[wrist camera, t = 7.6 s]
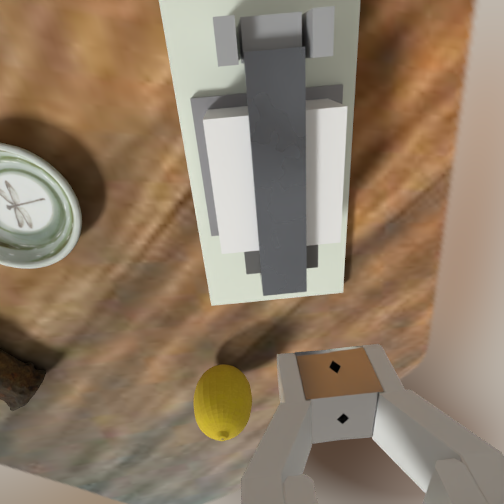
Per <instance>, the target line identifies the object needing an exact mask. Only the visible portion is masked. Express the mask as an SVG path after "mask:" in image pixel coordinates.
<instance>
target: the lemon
mask: <svg viewBox="0 0 504 504" xmlns="http://www.w3.org/2000/svg"><path fill="white" fill-rule="evenodd" d="M251 406H252V395H251V389H250V385H249V382H248V380H247V379H246V377H245V375H244V374H243V373H242V372H241V371H240V370H239V369H237V368H235V367H234V366H231V365H225V364H223V365H217V366H214V367H212V368H210V369H209V370H207V371H206V372H205V373H204V374H203V375H202V377H201V378H200V380H199V381H198V383H197V386H196V390H195V394H194V412H195V418H196V421H197V424H198V426H199V428H200V429H201V431H202V432H203V433H204V434H205V435H207V436H208V437H210V438H212V439H215V440H220V441H225V440H229V439H231V438H234V437H235V436H237V435H238V434H239V433H240V432H241V431H242V430H243V429H244V428H245V426H246V424H247V422H248V420H249V417H250V412H251Z"/></svg>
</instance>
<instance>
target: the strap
mask: <svg viewBox="0 0 504 504" xmlns="http://www.w3.org/2000/svg"><path fill="white" fill-rule="evenodd" d="M243 57H244V69H245V82H246V94H247V107H248V119H249V131H250V144H251V156H252V169H253V181H254V193H255V206H256V218H257V231H258V243H259V256H260V268H261V273H260V277H261V284H262V291H263V296H268V295H278V294H288V293H298V292H307V248H306V73H305V47H295V48H284V49H273V50H262V51H251V52H243Z"/></svg>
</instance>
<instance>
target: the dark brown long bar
mask: <svg viewBox="0 0 504 504" xmlns="http://www.w3.org/2000/svg"><path fill="white" fill-rule="evenodd" d="M45 374H46V370H36V369H35V368H34V365H33V363H32V362H30V363H23V362H21V361H20V360H18V359H16V358H14V357H12V356H11V355H9V354H7V353H5V352H4V351H2V350H0V399H1V400H3V401H5V402H6V403H7V404H8V406H9V407H10V410H12V411H14V410H16V409H18V408H20V407H22V406H24V405H26V404H27V403H28V402H29V400H30V399H31V398H32V396H33V395H34V394H35V393H36V391H37V390H38V388H39V387H40V385H41V383H42V382H43V380H44V377H45Z"/></svg>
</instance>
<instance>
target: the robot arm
mask: <svg viewBox="0 0 504 504" xmlns="http://www.w3.org/2000/svg"><path fill="white" fill-rule="evenodd" d="M277 369H278V384H279V395H280V404H279V406H278V408H277V410H276V412H275V414H274V415H273V417H272V419H271V421H270V423H269V425H268V427H267V429H266V431H265V433H264V435H263V437H262V439H261V441H260V443H259V445H258V447H257V449H256V451H255V453H254V455H253V457H252V459H251V461H250V463H249V465H248V466H247V468H246V470H245V472H244V474H243V476H242V478H241V504H318V501H317V496H316V491H315V487H314V482H313V479H311V478H310V477H308V476H307V475H306V474H304V475H302V473H303V470H304V467H305V464H306V461H307V458H308V455H309V452H310V449H311V446H312V444H313V443H320V442H327V441H335V440H343V439H355V438H367V437H373V438H372V439H373V440H374V441H375V442H376V443H377V444H378V445H379V446H380V447H381V448H382V449H383V450H384V451H385V452H386V453H387V454H388V455H389V456H390V457H391V458H392V459H393V461H394V462H395V463H396V464H397V465H398V466H399V467H400V468H401V469H402V470H403V471H404V472H405V473H406V474H407V475H408V476H409V477H410V478H411V479H412V480H413V481H414V482H415V483H416V484H417V485H418V486H419V487H420V488H421V489H422V490H423V491H424V492H425V493H426V495H425V498H424V501H423V504H504V456H503V454H502V453H501V452H500V451H499V450H497V449H496V448H494V447H493V446H491V445H490V444H488V443H487V442H486V441H484V440H483V439H481V438H480V437H478V436H477V435H476V434H474V433H473V432H471V431H470V430H468V429H467V428H465V427H464V426H463V425H461V424H459V423H458V422H456V421H455V420H454V419H452V418H451V417H449V416H448V415H447V414H445V413H444V412H442V411H441V410H439V409H438V408H436V407H435V406H434V405H432V404H431V403H429V402H428V401H426V400H425V399H423V398H422V397H420V396H419V395H417V394H416V393H415V392H413V391H412V390H405V389H404V387H403V385H402V383H401V381H400V379H399V378H398V376H397V374H396V372H395V370H394V368H393V366H392V365H391V363H390V361H389V359H388V357H387V355H386V353H385V352H384V350H383V348H382V346H381V345H379V344H373V345H364V346H354V347H346V348H337V349H328V350H321V351H308V352H296V353H287V354H277Z"/></svg>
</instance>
